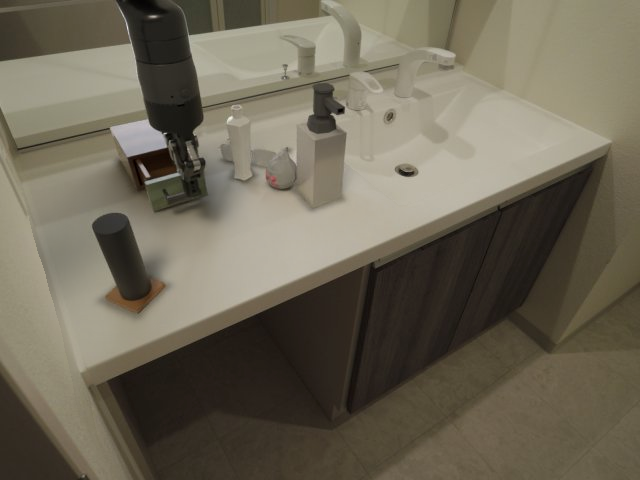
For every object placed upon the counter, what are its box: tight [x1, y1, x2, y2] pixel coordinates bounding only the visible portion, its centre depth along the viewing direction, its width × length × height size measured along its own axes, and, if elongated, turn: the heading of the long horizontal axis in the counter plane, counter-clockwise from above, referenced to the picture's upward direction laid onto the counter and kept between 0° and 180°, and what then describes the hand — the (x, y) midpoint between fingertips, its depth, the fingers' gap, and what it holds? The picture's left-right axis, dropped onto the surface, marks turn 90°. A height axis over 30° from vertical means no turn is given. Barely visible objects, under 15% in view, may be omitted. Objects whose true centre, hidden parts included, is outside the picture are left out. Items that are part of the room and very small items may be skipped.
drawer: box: [133, 151, 208, 212], centre depth 79 cm, size 17×10×6 cm, turn 33°
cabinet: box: [109, 118, 169, 192], centre depth 86 cm, size 14×12×8 cm
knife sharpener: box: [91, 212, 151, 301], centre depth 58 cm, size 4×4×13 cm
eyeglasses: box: [217, 138, 289, 168], centre depth 93 cm, size 14×8×4 cm, turn 77°
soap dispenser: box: [295, 82, 348, 209], centre depth 75 cm, size 6×9×22 cm
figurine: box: [265, 149, 297, 190], centre depth 83 cm, size 6×7×8 cm
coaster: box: [104, 275, 166, 315], centre depth 63 cm, size 6×6×1 cm
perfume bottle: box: [225, 104, 254, 181], centre depth 83 cm, size 5×4×15 cm
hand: (192, 193), depth 68 cm, fingers closed
